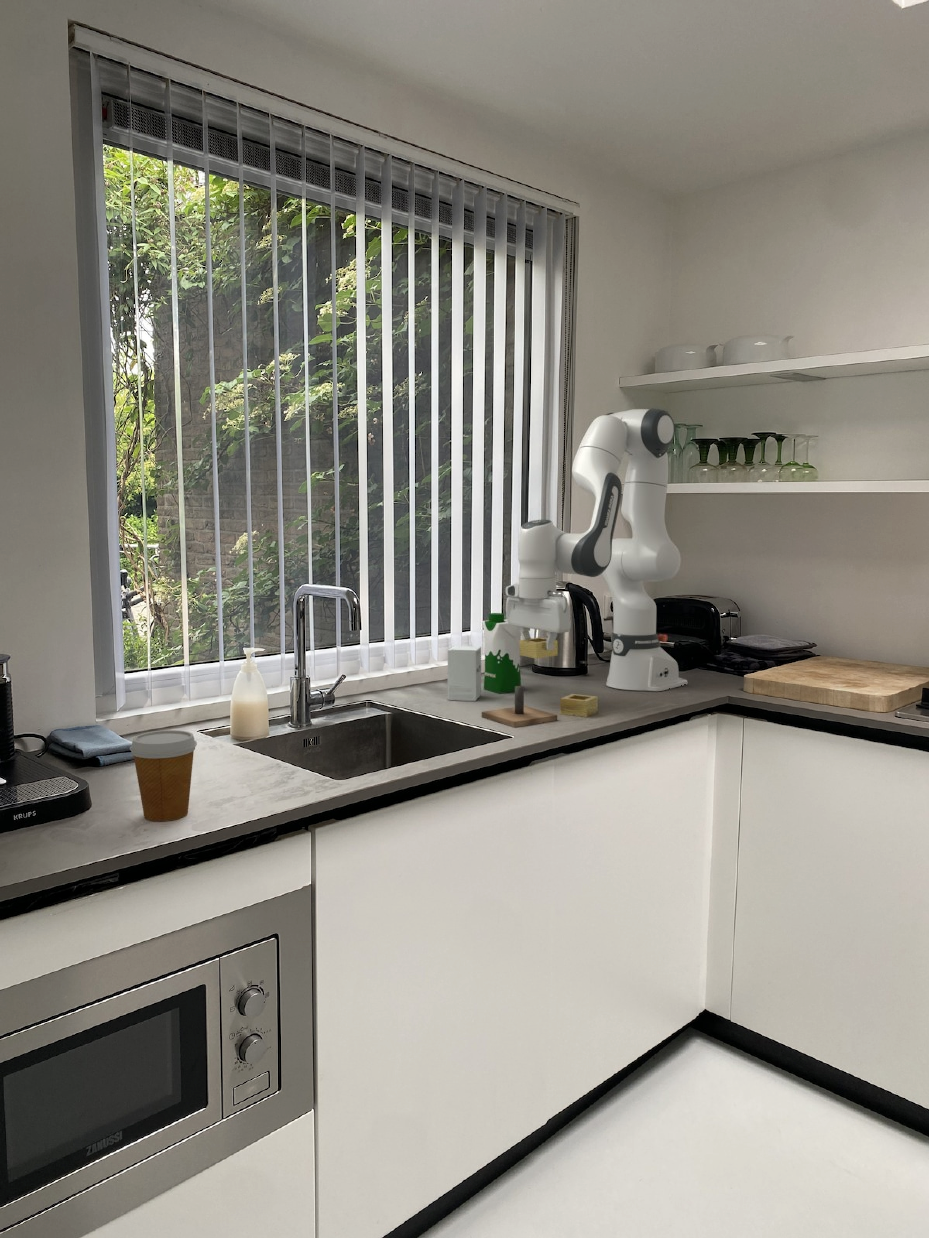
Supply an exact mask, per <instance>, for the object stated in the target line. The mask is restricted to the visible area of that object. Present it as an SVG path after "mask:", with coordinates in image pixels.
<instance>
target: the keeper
mask: <svg viewBox="0 0 929 1238" xmlns="http://www.w3.org/2000/svg"><path fill="white" fill-rule="evenodd" d="M524 702H525V686H523V685H521V686H515V692H514V706H513V707H506V708H500V709H499V708H498V709H491V710H485V711H481V718H483V719H486V720H489V721H493V722H496V723H499V724H501V725H502V724H503V725H506V726H509V727H512V728H520V727H524V726H530V725H537V724H542V723H543V722H544V723H549V722H550V723H551V722H556V721H558V714H554V713H551V712H548V711H544V710H540V709H537V708H533V707H530V706H526V705H525V704H524Z"/></svg>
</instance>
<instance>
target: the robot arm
mask: <svg viewBox="0 0 929 1238" xmlns="http://www.w3.org/2000/svg"><path fill="white" fill-rule="evenodd" d="M675 432H676V428H675V422H674V418H673V417H672V416H671V414H670V413H669V412H668V411H667V410H664V409H661V408H653V407H652V408H649V409H648V408H636V409H629V410H622V411H619V412H609V413H606V414H603V415H600V416H599V415H598V417H595V418H594V420H593V421H592V422H591V424H590V425H589V427H588V428H587V430H586V432H585V434H584V436H583V438H582V439H581V442H580V444H579V446H578V449H577V452H576V453H575V456H574V459H573V461H572V468H571V474H572V477H573V479H574V481H575V482H576V485H578V486H579V488H581V489H582V490H583V491H585V492H587V494H590V495H592V496H593V497H594V498H595V503H594V507H593V512H592V516H591V521H590V526H589V528H588V529H587V530H586V531H584V532H583V533H575V532H574V533H571V532H565V531H563V530H561V529H559V528H558V527H557V526H555V525H554V524H553V520H550V519H536V520H535V519H534V520H530V521H526V522H525V523H523V524H522V525H521V527H520V530H519V535H518V543H517V549H518V550H517V560H518V563H519V573H518V581H517V582H515V583H513V584H510V585H508V586H506V587H505V595H506V596H507V597H506V602H505V604H506V605H505V612H506V615H505V617H506V619H507V621H508V623H509V625H513V626H519V627H520V633H521V638H522V640H524V639H531V634H530V631H531V630H537V631H543V632H544V631H545V633H546V636H547V637H546V638H547V641H546V642H544V649H545V650H553V649H554V641H555V640H557V637H558V634H563V633H564V634H565V633H568V632H570V630H571V628H572V620H571V609H570V605H569V602H568V598H567V597H566V595H565V594H564V593H563V592H561V591H557V573H559V574H567V575H568V574H569V575H580V576H584V577H590V578H596V577H599V576H602V577H603V579H604V580H605V583H606V585H607V587H608V589H609V593H610V595H611V600H612V607H613V608H612V610H613V612H612V614H613V617H612V619H613V620H612V621H613V632H611V638H610V640H611V641H610V642H611V649H612V651H611V655H610V662H609V663H610V665H609V671H608V675H607V679H606V683H605V685H606V686H607V687H609V688H614V689H616V690H617V689H619V690H625V691H649V692H650V691H651V692H660V691H661V692H662V691H665V690H670V689H675V688H677V687H678V688H679V687H682V686H685V685H684V684H686V685H688V684H689V683H688V680H687V679H685V678H683V677H679V675H680V674H679V672H680V671H679V665H678V661H676V659H674V658H673V657H672V656H671V655H670V654H669V653H667V652H666V651H665V650H664V649H663V648H662V647H661V646H662V645H661V642H662V643H666V642H667V641H668V639H669V638H668V635H667V634H661V633H659V634H658V633H657V605H656V602H655V601H654V599H652V597H651V596H649V595H648V593H647V592H646V589H645V588H644V587H645V586H644V584H643V582H648V583H649V582H651V583H653V582H655V583H656V582H662V581H667V580H671V579H673V578H674V577H675V576H676V575H677V573H678V572H679V571H680V567H681V564H682V563H681V559H682V558H681V553H680V550H679V548H678V547H677V546H676V544H675V543H674V542H673V541H672V540H671V538H670V536H669V533H668V530H667V527H666V521H665V512H666V511H665V510H666V499H667V491H668V483H669V456H668V453H667V452H668V450H669V448H670V447H671V445H672V442H673V440H674V438H675V434H676V433H675ZM624 455H627V457H628V464H627V468H626V471H625V477H624V484H622V481H621V479H620V477H619V475H618V474H619V469H620V466H621V464H622V461H623V457H624ZM622 485H623V486H622ZM620 504H621V509H620ZM619 509H620V511H621V515H622V517H623V519H625V520H626V522H628V523H629V525H630V527H631V533H632V536H631V537H632V538H629V537H628V538H627V537H625V538H623V537H617V538H614V533H615V530H616V524H617V518H618V514H619ZM681 685H682V686H681ZM669 688H670V689H669Z"/></svg>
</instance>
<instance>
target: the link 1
mask: <svg viewBox="0 0 929 1238" xmlns="http://www.w3.org/2000/svg"><path fill="white" fill-rule="evenodd" d="M547 638H548V637H540V636H539V637H532V638H531V639H524V640H523V639H521V640H519V650H520V656H523V657H526V658H527V657H528V658H532V659H543V658H551V657H555V656H556V657H557V656H559V655H558V652H559V651H558V650H559V649H558V645H559V644H558V639H555V641H554V649H553V650H545V649H544V642H546V641H547Z"/></svg>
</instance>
